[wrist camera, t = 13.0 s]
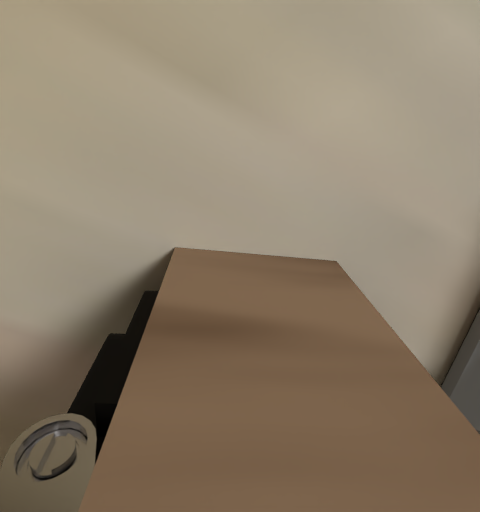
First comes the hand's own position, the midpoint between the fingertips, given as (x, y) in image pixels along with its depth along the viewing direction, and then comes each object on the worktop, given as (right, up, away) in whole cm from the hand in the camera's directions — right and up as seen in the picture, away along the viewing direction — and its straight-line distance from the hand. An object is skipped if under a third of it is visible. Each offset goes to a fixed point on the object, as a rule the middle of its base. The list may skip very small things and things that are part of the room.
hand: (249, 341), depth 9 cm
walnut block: (0, 0, +1) cm, 1 cm away
